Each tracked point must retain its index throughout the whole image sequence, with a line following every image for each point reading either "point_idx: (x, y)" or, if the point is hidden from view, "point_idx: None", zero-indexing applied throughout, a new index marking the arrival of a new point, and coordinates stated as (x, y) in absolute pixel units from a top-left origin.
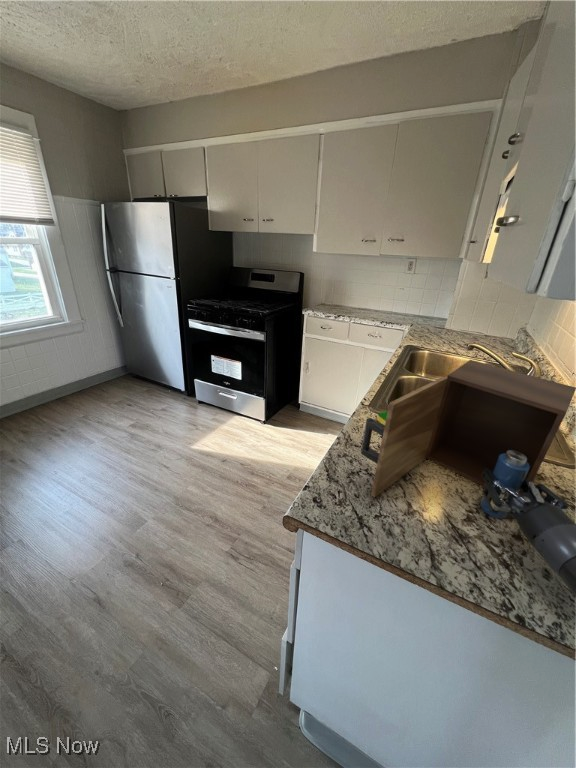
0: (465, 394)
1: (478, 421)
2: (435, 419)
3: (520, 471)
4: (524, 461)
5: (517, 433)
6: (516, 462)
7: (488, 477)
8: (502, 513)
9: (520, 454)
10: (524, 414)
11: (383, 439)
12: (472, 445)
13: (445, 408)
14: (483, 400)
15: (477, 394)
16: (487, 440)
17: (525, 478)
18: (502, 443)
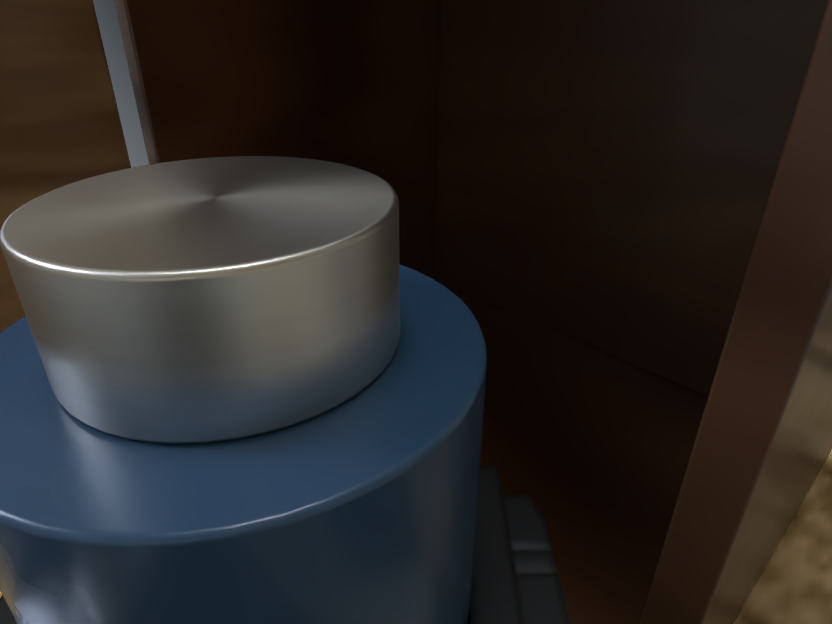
0: (449, 35)
1: (520, 182)
2: (103, 111)
3: (93, 575)
4: (207, 294)
5: (709, 211)
6: (47, 334)
7: (2, 601)
8: None
9: (319, 188)
10: (742, 56)
11: None
12: (509, 321)
13: (198, 43)
14: (523, 39)
15: (494, 11)
16: (569, 285)
17: (559, 601)
18: (637, 292)
